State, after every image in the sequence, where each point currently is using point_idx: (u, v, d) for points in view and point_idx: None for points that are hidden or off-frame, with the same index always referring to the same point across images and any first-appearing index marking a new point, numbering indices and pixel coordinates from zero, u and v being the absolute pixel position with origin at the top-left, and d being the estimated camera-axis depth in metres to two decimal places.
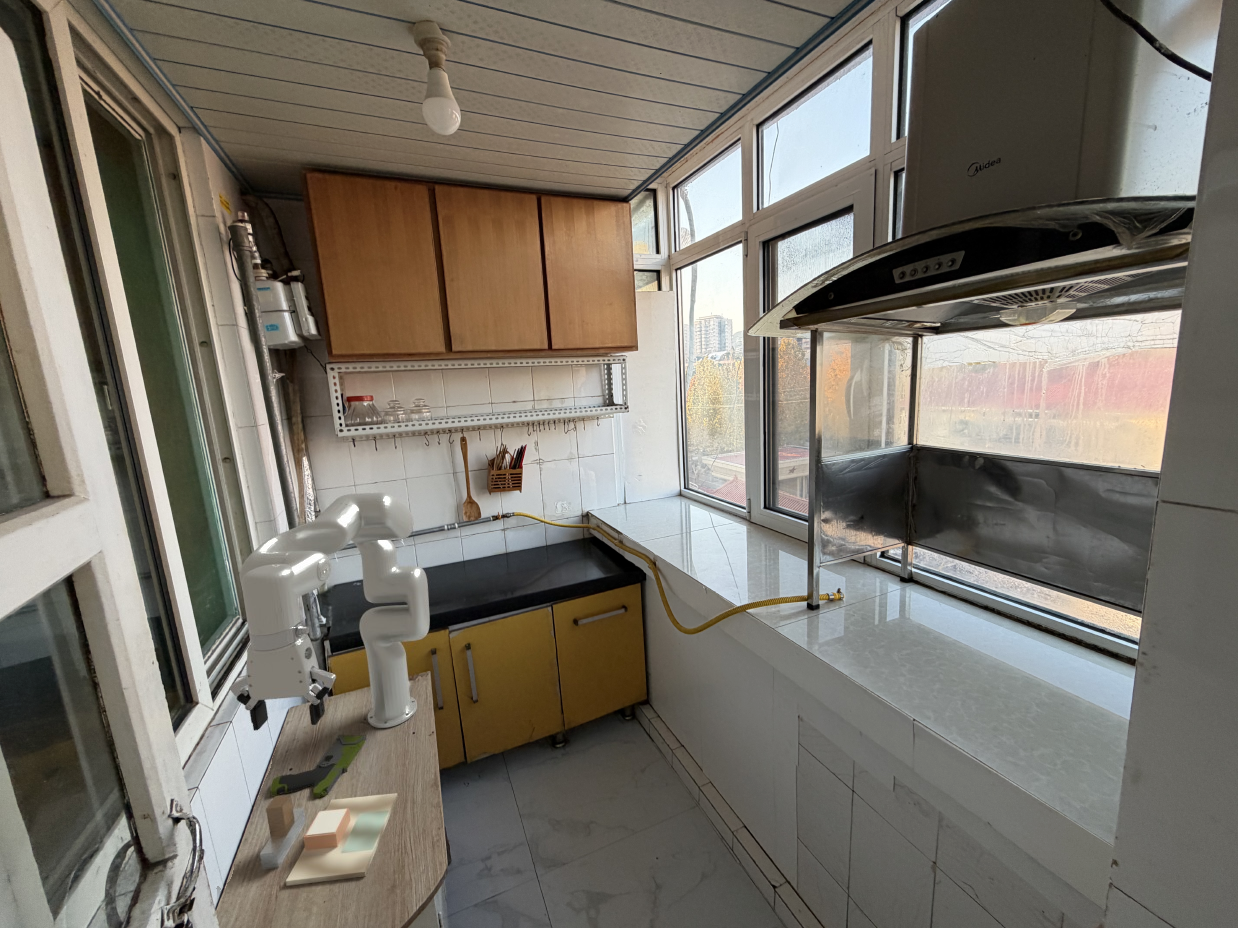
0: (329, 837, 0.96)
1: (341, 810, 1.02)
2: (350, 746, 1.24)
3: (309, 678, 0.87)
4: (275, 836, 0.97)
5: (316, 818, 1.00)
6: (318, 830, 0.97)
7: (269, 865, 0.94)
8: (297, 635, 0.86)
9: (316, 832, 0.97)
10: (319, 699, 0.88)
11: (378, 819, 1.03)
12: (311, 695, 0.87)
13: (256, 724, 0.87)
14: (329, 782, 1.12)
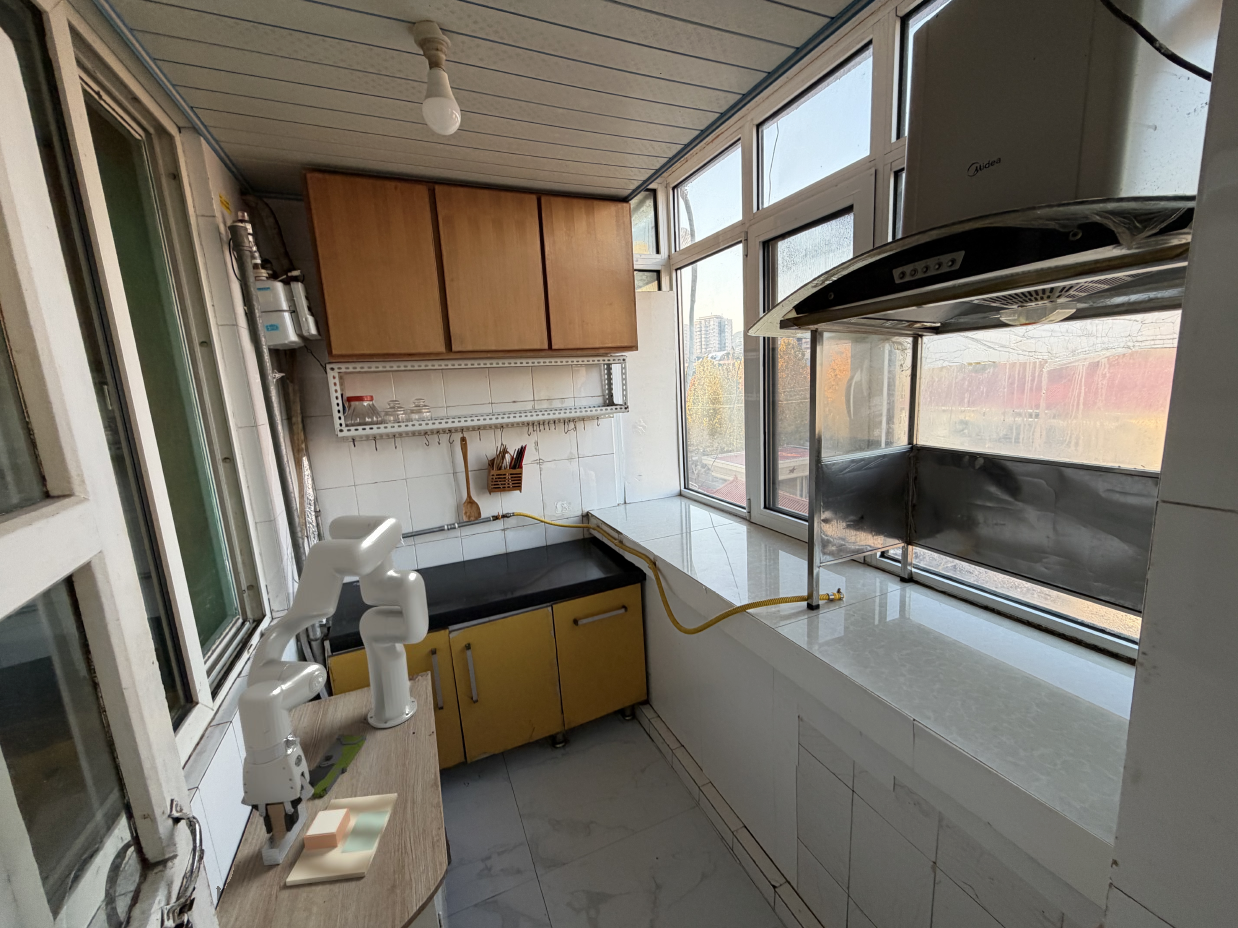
0: (329, 837, 0.96)
1: (341, 810, 1.02)
2: (350, 746, 1.24)
3: (299, 783, 0.96)
4: (277, 832, 0.97)
5: (316, 818, 1.00)
6: (318, 830, 0.97)
7: (271, 861, 0.94)
8: (288, 746, 0.95)
9: (316, 832, 0.97)
10: (293, 808, 0.97)
11: (378, 819, 1.03)
12: (290, 805, 0.96)
13: (269, 828, 0.97)
14: (329, 782, 1.12)
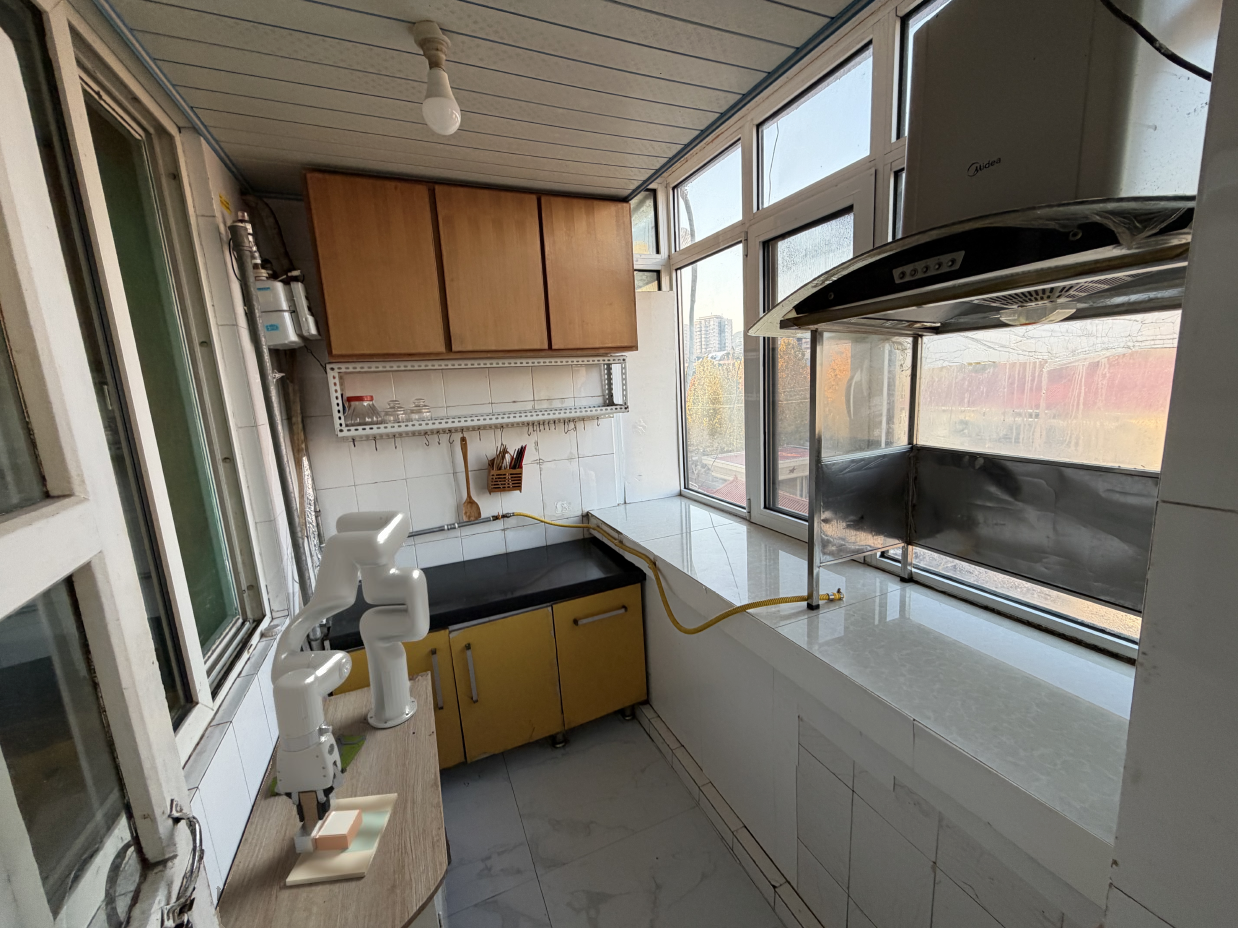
0: (341, 838, 0.96)
1: (353, 811, 1.01)
2: (350, 746, 1.24)
3: (332, 772, 0.96)
4: (308, 820, 0.97)
5: (328, 818, 1.00)
6: (330, 831, 0.97)
7: (303, 849, 0.94)
8: (321, 734, 0.95)
9: (327, 832, 0.96)
10: (325, 797, 0.97)
11: (378, 819, 1.03)
12: (322, 793, 0.97)
13: (302, 817, 0.97)
14: None
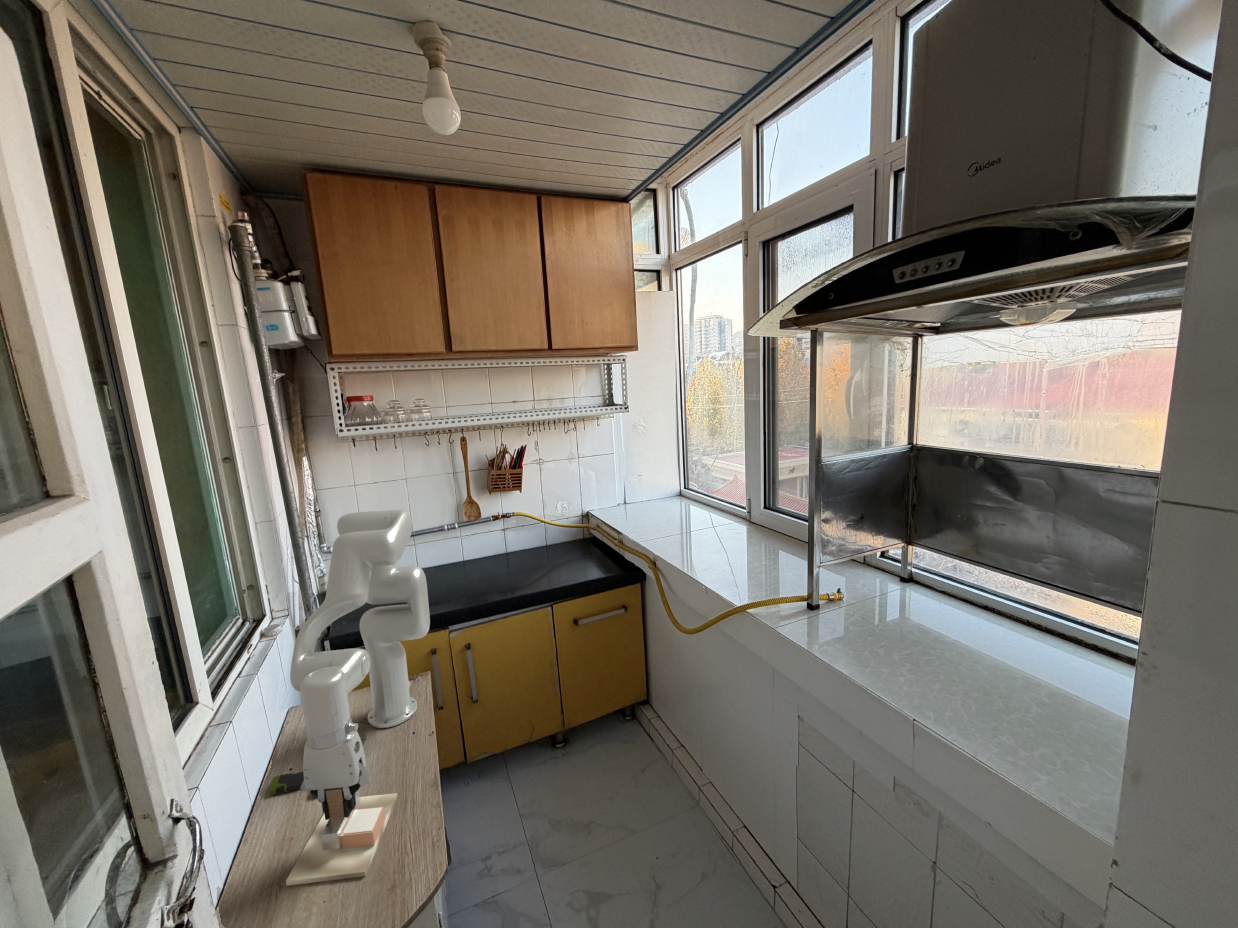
0: (367, 835, 0.97)
1: (376, 809, 1.02)
2: None
3: (358, 769, 0.97)
4: (334, 817, 0.98)
5: (351, 816, 1.00)
6: (355, 829, 0.97)
7: (330, 846, 0.95)
8: (348, 732, 0.96)
9: (353, 830, 0.97)
10: (351, 794, 0.98)
11: None
12: (348, 791, 0.97)
13: (328, 814, 0.97)
14: None
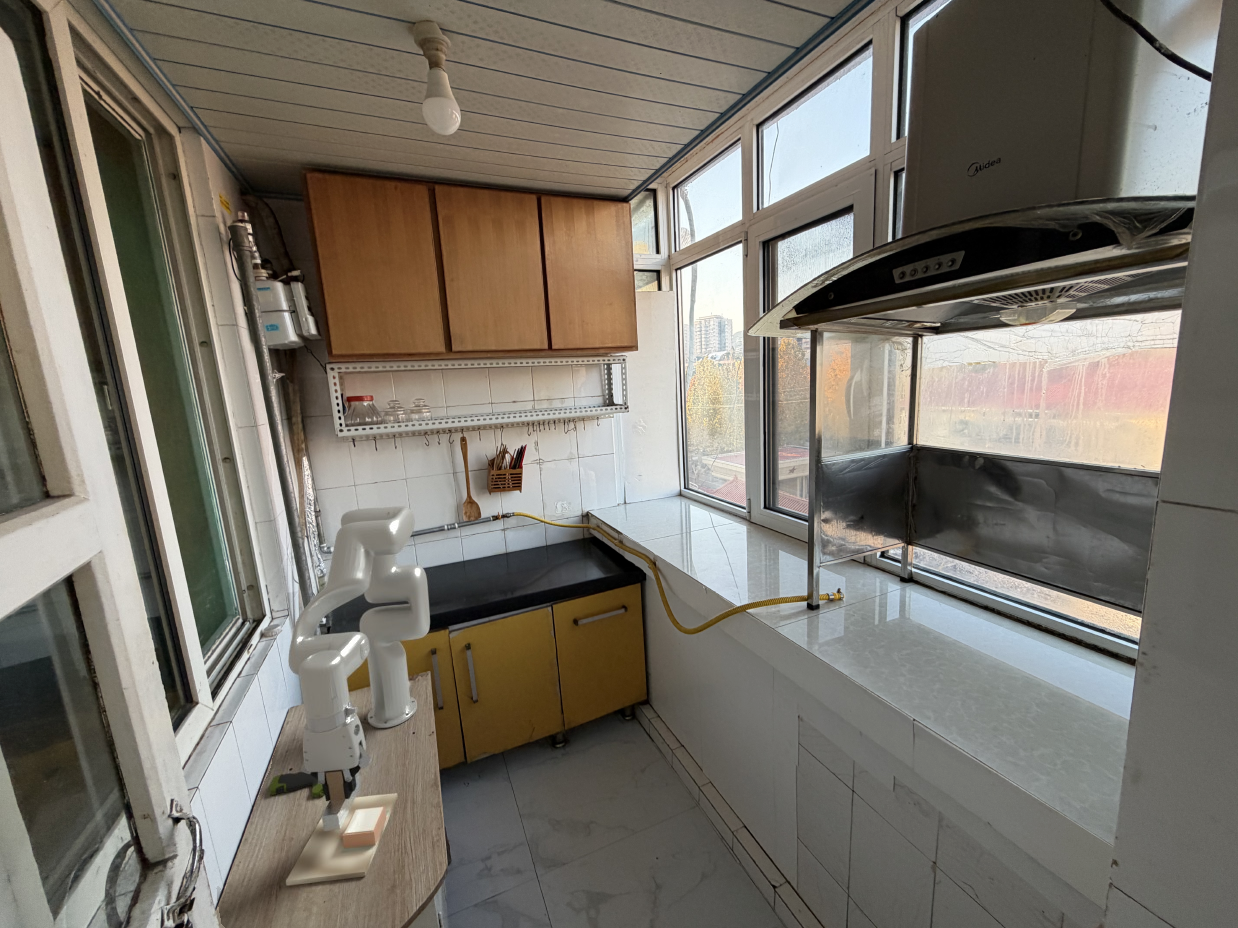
0: (368, 835, 0.97)
1: (377, 808, 1.02)
2: None
3: (358, 752, 0.97)
4: (335, 799, 0.98)
5: (353, 816, 1.00)
6: (356, 828, 0.97)
7: (331, 827, 0.95)
8: (347, 715, 0.95)
9: (354, 830, 0.97)
10: (352, 776, 0.98)
11: None
12: (349, 773, 0.97)
13: (328, 796, 0.97)
14: None
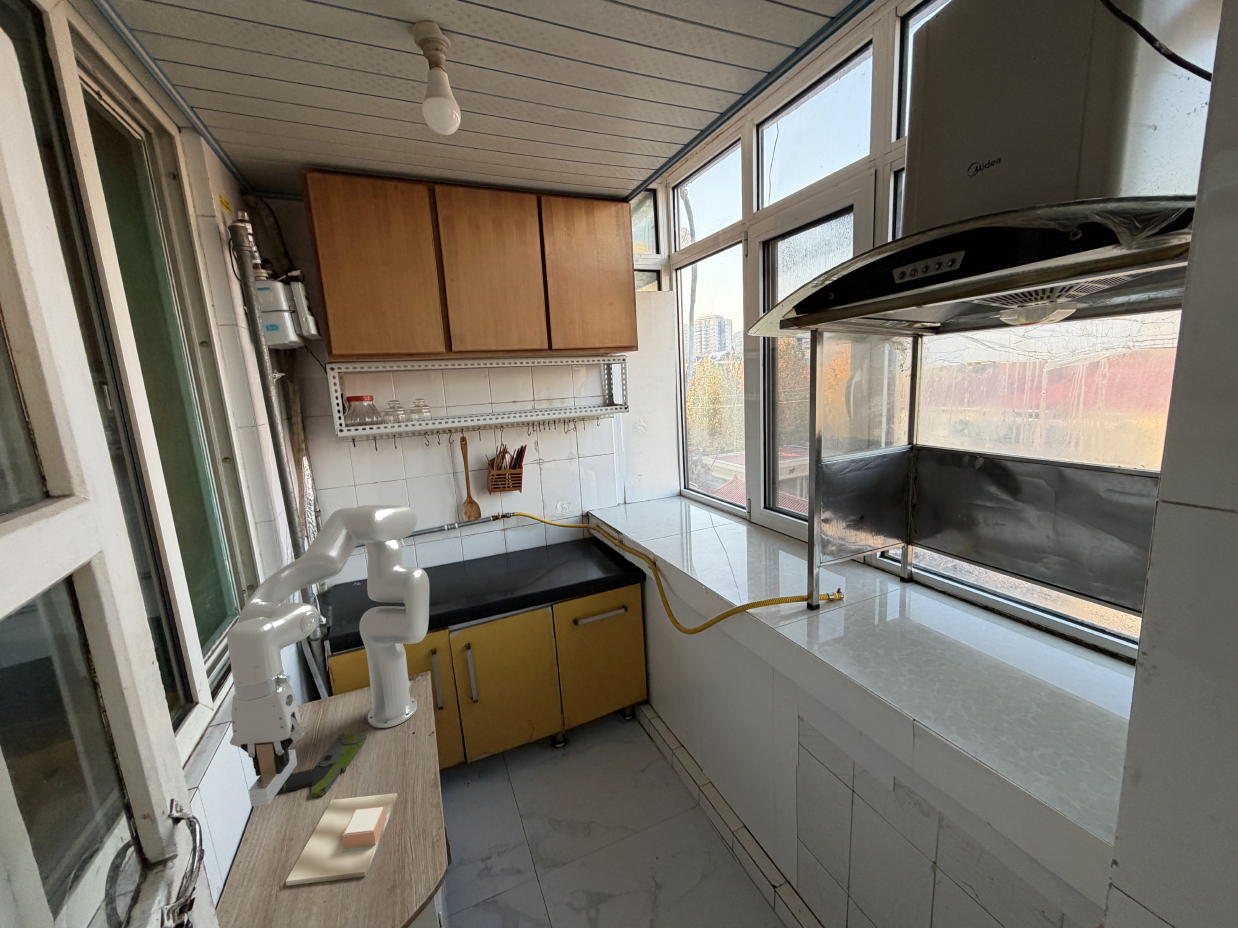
0: (368, 835, 0.97)
1: (377, 808, 1.02)
2: (350, 746, 1.24)
3: (290, 723, 0.94)
4: (265, 774, 0.95)
5: (353, 816, 1.00)
6: (356, 828, 0.97)
7: (258, 802, 0.92)
8: (278, 684, 0.93)
9: (354, 830, 0.97)
10: (283, 750, 0.95)
11: None
12: (280, 746, 0.94)
13: (258, 770, 0.94)
14: (327, 782, 1.12)
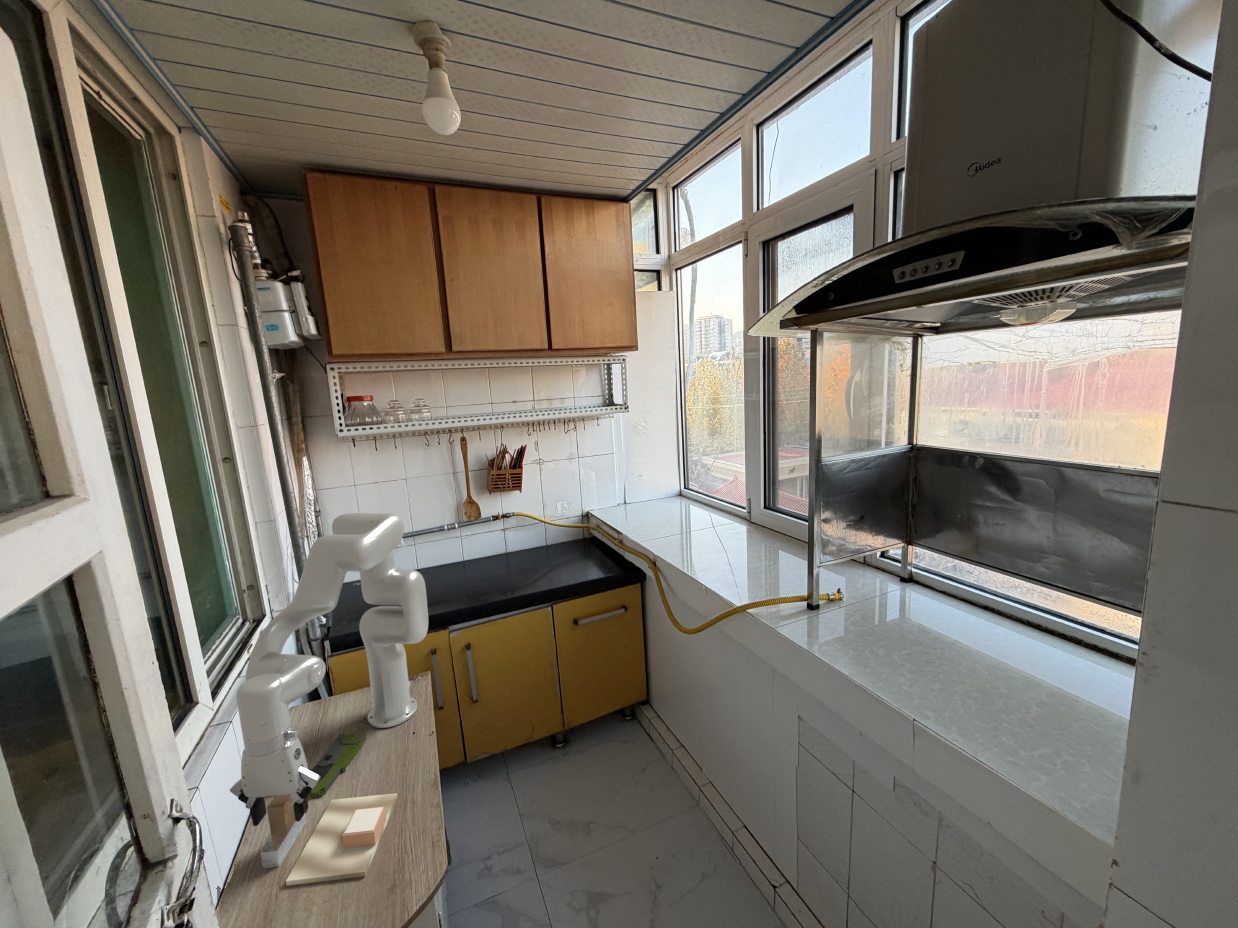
0: (368, 835, 0.97)
1: (377, 808, 1.02)
2: (350, 746, 1.24)
3: (298, 777, 0.96)
4: (276, 835, 0.97)
5: (353, 816, 1.00)
6: (356, 828, 0.97)
7: (270, 864, 0.94)
8: (287, 739, 0.95)
9: (354, 830, 0.97)
10: (303, 798, 0.97)
11: None
12: (296, 794, 0.96)
13: (256, 820, 0.96)
14: (327, 783, 1.12)
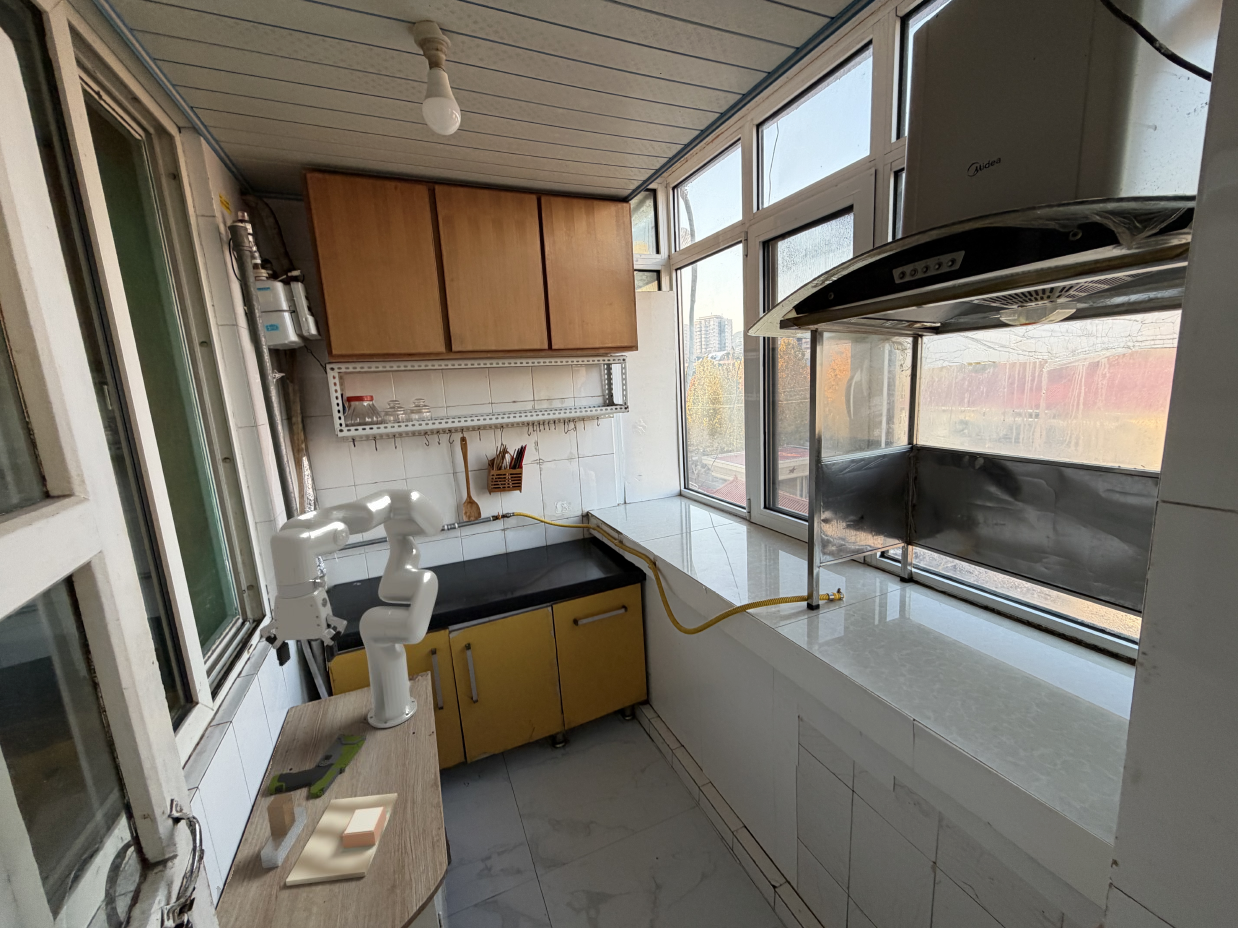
0: (368, 835, 0.97)
1: (377, 808, 1.02)
2: (349, 746, 1.24)
3: (325, 623, 1.04)
4: (276, 835, 0.97)
5: (353, 816, 1.00)
6: (356, 828, 0.97)
7: (270, 864, 0.94)
8: (315, 587, 1.03)
9: (354, 830, 0.97)
10: (333, 641, 1.05)
11: None
12: (327, 637, 1.05)
13: (281, 661, 1.04)
14: (326, 783, 1.12)
